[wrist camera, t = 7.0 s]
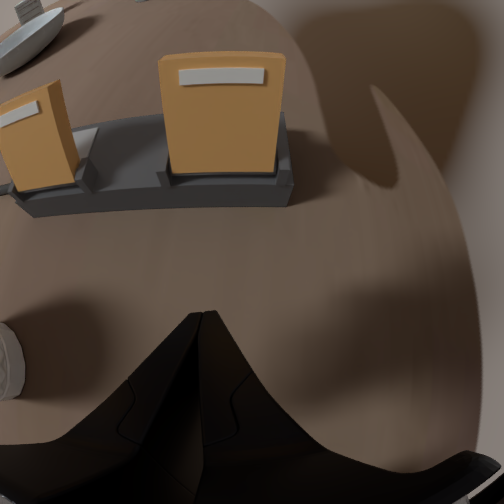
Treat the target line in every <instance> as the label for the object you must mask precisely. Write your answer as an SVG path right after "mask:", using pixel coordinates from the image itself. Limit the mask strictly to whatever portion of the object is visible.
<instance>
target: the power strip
mask: <svg viewBox="0 0 504 504" xmlns="http://www.w3.org/2000/svg"><path fill="white" fill-rule="evenodd" d="M71 130H72V134H73V138H74V141H75V145H76V148H77V151H78V155H79V158H80V164H79V167H78V170H77V173H76V176H75V179H74V181H75V182H76V183H77V184H78V185H72V186H65V187H58V188H51V189H45V190H39V191H34V192H28V193H23V194H20V193H19V192H18V191H17V188H16V186H15V184H14V182H13V180H12V181H11V183H9V184H5V185H1V186H0V195H3V194H7V193H8V194H9V195H11V196H12V197H13V198H14V199H15V200H16V202H15V203H16V204H17V205H19V206H20V207H21V208H22V209H23V210H25V211H26V212H27V213H28V214H30V215H31V216H32V217H33V218H36V217H45V216H56V215H66V214H78V213H91V212H105V211H121V210H139V209H161V208H190V207H286V206H287V203H288V201H289V198H290V195H291V192H292V189H293V187H294V181H293V173H292V165H291V158H290V151H289V144H288V137H287V131H286V124H285V118H284V112H280V118H279V127H278V136H277V144H276V153H275V156H276V160H277V168H276V174H275V175H260V174H222V175H186V176H171V175H170V171H169V161H170V156H169V149H168V142H167V136H166V128H165V121H164V114H156V115H148V116H139V117H132V118H125V119H119V120H113V121H107V122H101V123H96V124H91V125H86V126H82V127H77V128H73V129H71Z"/></svg>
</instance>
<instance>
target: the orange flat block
mask: <svg viewBox="0 0 504 504" xmlns="http://www.w3.org/2000/svg"><path fill="white" fill-rule="evenodd" d="M285 64H286V58H285V57H284V56H283V54H282V53H272V52H252V51H216V52H196V53H183V54H173V55H165V56H164V57H163V58H161V59H160V60H159V61H158V68H159V78H160V88H161V97H162V105H163V113H164V121H165V128H166V136H167V142H168V149H169V156H170V161H169V171H170V175H171V176H186V175H222V174H260V175H275V174H276V168H277V160H276V156H275V153H276V144H277V136H278V127H279V118H280V110H281V101H282V92H283V82H284V73H285Z"/></svg>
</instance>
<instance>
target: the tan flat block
mask: <svg viewBox="0 0 504 504" xmlns="http://www.w3.org/2000/svg"><path fill="white" fill-rule="evenodd" d="M0 151H1V153H2V156H3V158H4V161H5V163H6V166H7V168H8V171H9V173H10V175H11V177H12V180H13V182H14V184H15V186H16V188H17V191H18V192H19V193H20V194H23V193H28V192H34V191H39V190H45V189H51V188H58V187H65V186H72V185H78V184H77V183H76V182H75V181H74V179H75V176H76V173H77V170H78V167H79V164H80V158H79V155H78V151H77V148H76V145H75V141H74V138H73V134H72V130H71V127H70V123H69V119H68V115H67V111H66V107H65V102H64V98H63V93H62V88H61V83H60V79H59V80H57V81H54V82H51V83H48V84H46V85H43V86H41V87H38V88H36V89H33V90H31V91H28V92H26V93H24V94H22V95H19V96H17V97H15V98H13V99H11V100H9V101H7V102H5V103H3V104H1V105H0Z"/></svg>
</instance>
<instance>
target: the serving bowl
mask: <svg viewBox="0 0 504 504" xmlns="http://www.w3.org/2000/svg"><path fill="white" fill-rule="evenodd" d="M63 22H64V9H63V8H62V7H60V8H56V9H53V10H50V11H48V12H46V13H44V14H42V15H40V16H38V17H36V18H34V19H33V20H31V21H29V22H28V23H26V24H25V25H23V26H22V27H20V28H19V29H18V30H16V31H15V32H14V33H12V34H11V35H10V36H9V37H7V38H6V39H5V40H4V41H3V42H2V43H0V77H1V76H4V75H6V74H8V73H10V72H12V71H14V70H15V69H17V68H19V67H21V66H23V65H24V64H26V63H27V62H29V61H30V60H32V59H33V58H34V57H35V56H37V55H38V54H39V53H40V52H41V51H42V50H43V49H44V48H45V47H46V46H47V45H48V44H49V43H50V42H51V41H52V40H53V39H54V38H55V37H56V35H57V34H58V33H59V31H60V29H61V27H62V25H63Z"/></svg>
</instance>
